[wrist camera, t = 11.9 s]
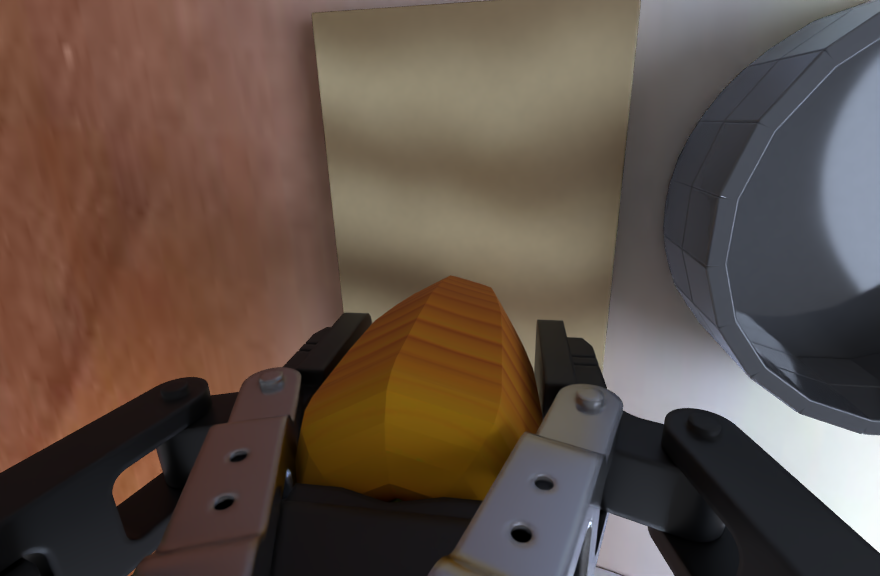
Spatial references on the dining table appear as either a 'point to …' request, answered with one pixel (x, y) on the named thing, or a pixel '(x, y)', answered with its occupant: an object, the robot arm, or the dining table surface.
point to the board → (480, 152)
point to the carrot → (423, 400)
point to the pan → (791, 220)
